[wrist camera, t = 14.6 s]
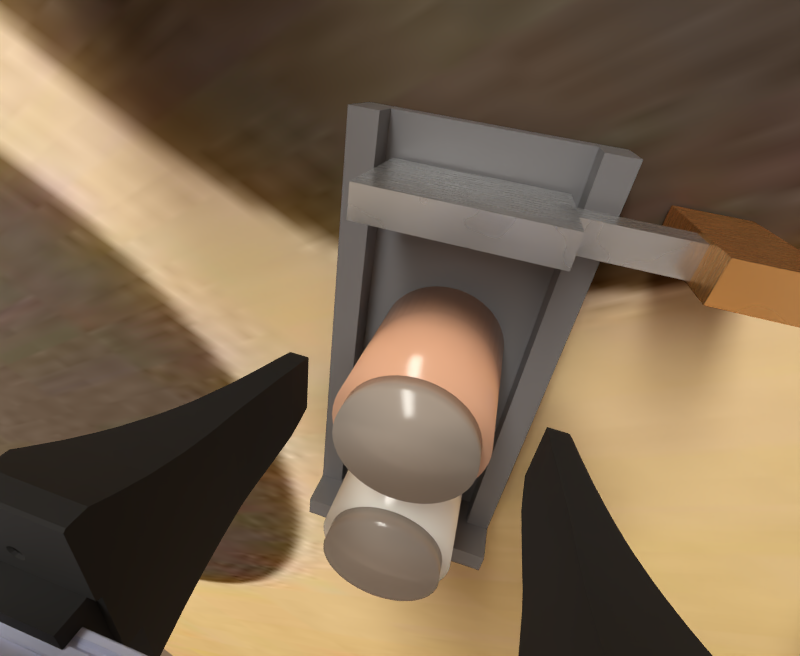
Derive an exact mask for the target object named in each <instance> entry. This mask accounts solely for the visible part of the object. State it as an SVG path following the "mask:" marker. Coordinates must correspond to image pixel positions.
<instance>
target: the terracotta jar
mask: <svg viewBox="0 0 800 656" xmlns="http://www.w3.org/2000/svg"><path fill="white" fill-rule="evenodd" d="M503 352H504V339H503V333H502V330H501V327H500V325H499V323H498V321H497V319H496V318H495V316H494V314H493V313H492V312H491V311H490V310H489V308H488V307H487V306H485V305H484V304H483V303H482V302H481V301H479V300H478V299H477V298H475V297H473V296H471V295H470V294H468V293H465V292H463V291H460V290H457V289H453V288H449V287H438V286H433V287H425V288H420V289H417V290H414V291H411V292H409V293H408V294H406V295H404V296H403V297H401V298H400V299H399V300H397V301H396V302H395V303H394V305H393V306H392V307H391V309H390V310H389V311H388V313H387V315H386V316H385V318H384V319H383V321H382V323H381V324H380V326H379V328H378V329H377V331H376V332H375V334H374V336H373V337H372V339H371V340H370V342H369V344H368V345H367V347H366V348H365V350H364V352H363V353H362V355H361V356H360V358H359V360H358V361H357V363H356V365H355V366H354V368H353V369H352V371H351V373H350V374H349V376H348V377H347V379H346V381H345V382H344V384H343V385H342V387H341V389H340V390H339V392H338V394H337V396H336V398H335V401H334V404H333V410H332V419H333V430H332V435H333V442H334V446H335V449H336V451H337V454H338V456H339V457H340V459H341V461H342V462H343V464H344V465H345V466H346V468H347V469H348V470H349V471H350V472H351V473H352V474H353V475H354V476H355V477H356V478H357V479H359V480H360V481H361V482H362V483H364V484H365V485H367V486H368V487H370V488H371V489H373V490H375V491H377V492H379V493H381V494H383V495H385V496H388V497H390V498H393V499H396V500H400V501H404V502H410V503H418V504H433V503H440V502H445V501H448V500H451V499H454V498H456V497H458V496H460V495H461V494H463V493H464V492H465V491H467V490H468V489H469V488H470V487H471V486H472V484H473V483H474V481H475V480H476V478H477V477H479V476H480V474H481V473H482V472H483V471H484V470H485V468H486V467H487V465H488V464H489V461H490V459H491V455H492V450H493V443H494V433H495V424H496V415H497V406H498V397H499V388H500V379H501V370H502V361H503Z"/></svg>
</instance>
